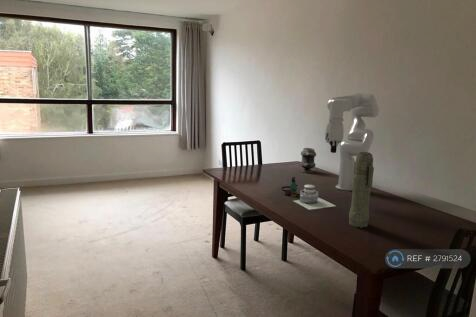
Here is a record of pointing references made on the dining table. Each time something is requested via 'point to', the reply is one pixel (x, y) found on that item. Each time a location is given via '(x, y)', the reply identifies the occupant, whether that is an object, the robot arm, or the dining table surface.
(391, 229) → the dining table surface
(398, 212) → the dining table surface
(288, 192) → the binoculars
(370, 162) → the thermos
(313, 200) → the grey ring
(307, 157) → the apothecary jar
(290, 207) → the dining table surface
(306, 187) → the cap
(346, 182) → the robot arm
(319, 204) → the mat
